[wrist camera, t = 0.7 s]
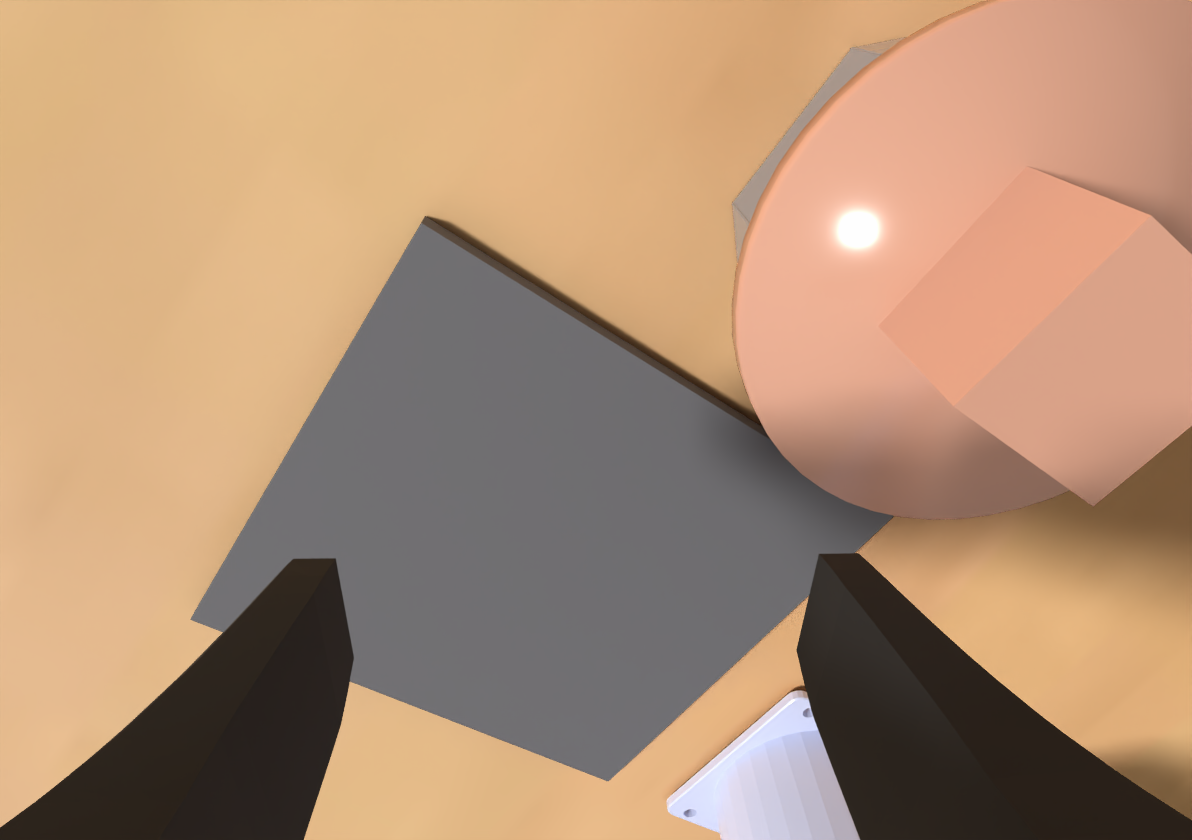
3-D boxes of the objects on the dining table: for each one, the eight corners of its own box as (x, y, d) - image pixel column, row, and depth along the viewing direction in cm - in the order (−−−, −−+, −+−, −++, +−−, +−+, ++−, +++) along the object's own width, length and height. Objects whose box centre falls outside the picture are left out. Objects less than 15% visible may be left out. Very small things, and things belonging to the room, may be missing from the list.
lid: (1375, 217, 16) (1618, 288, 13) (966, 565, 21) (1056, 693, 17) (1037, -174, 13) (1241, -236, 9) (627, 355, 17) (648, 460, 13)
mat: (886, 504, 23) (893, 516, 23) (607, 767, 29) (608, 781, 29) (425, 215, 18) (421, 222, 18) (198, 605, 24) (190, 619, 24)
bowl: (1217, 193, 19) (1323, 227, 16) (921, 471, 23) (969, 534, 20) (950, -84, 16) (1029, -95, 13) (658, 297, 20) (675, 346, 17)
